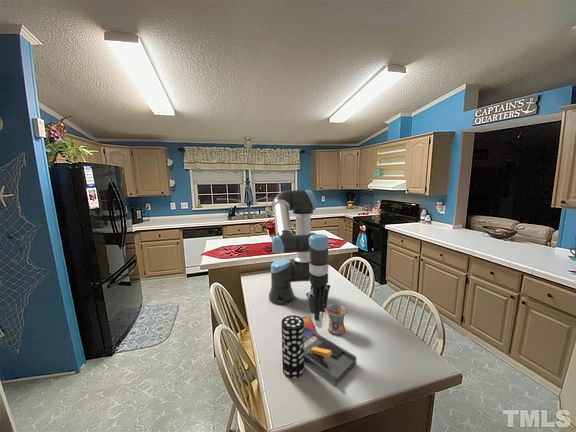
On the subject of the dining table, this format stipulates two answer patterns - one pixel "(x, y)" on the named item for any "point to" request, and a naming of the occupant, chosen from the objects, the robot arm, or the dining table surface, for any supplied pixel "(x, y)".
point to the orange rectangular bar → (321, 351)
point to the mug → (336, 318)
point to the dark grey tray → (328, 359)
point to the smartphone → (308, 326)
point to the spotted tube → (293, 346)
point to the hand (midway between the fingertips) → (318, 326)
